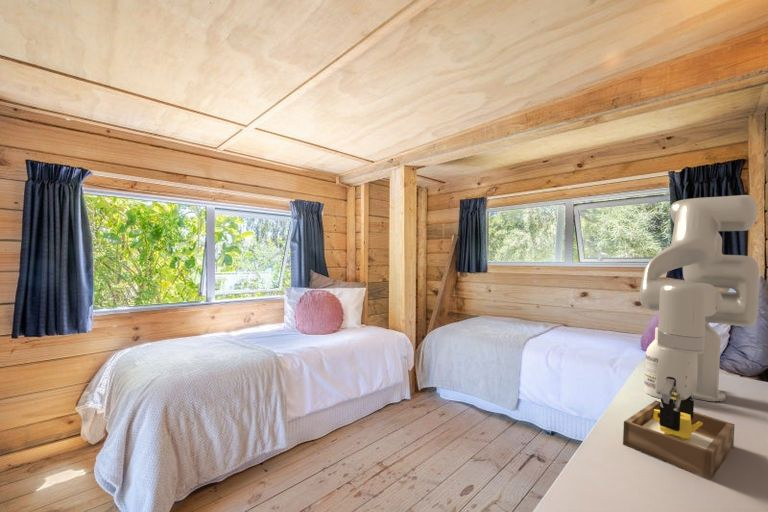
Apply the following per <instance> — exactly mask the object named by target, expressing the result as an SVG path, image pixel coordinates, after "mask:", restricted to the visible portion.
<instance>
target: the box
mask: <svg viewBox="0 0 768 512" xmlns="http://www.w3.org/2000/svg"><path fill="white" fill-rule="evenodd" d="M660 403H661V401H659V400H654V401H653V402H651V403H650V404H648V405H646V406H645V407H644V408H642V409H641V410H639V411H638V412H636V413H635V414H633V415H632V416H630V417H628V418H627V419H625V420H624V421H623V431H622V432H623V434H622V435H623V438H622V445H623V444H624V445H623V446H626V447H628V448H631V449H633V450H636V451H638V452H641V453H643V454H645V455H648V456H650V457H653V458H655V459H657V460H659V461H663V462H664V463H668V464H670V465H672V466H674V467H677V468H679V469H682V470H684V471H687V472H689V473H692V474H695V475H696V476H699V477H701V478H704V479H707V480H709V481H711V480H712V479H713V477H714V476H715V474H716V473H717V471H719V469H720V467H721V466H722V465H723V463H724V461H725V460H726V458H727V457H728V456H729V454H730V453H731V451H732V450H733V448H734V446H735V445H734V443H735V423H733V422H728V421H725V420H722V419H719V418H714V417H711V416H709V415H706V414H702V413H699V412H695V411H693V418H692V419H691V425H693V424H695V423H697V422H699V421H700V422H702V423H703V424H702V425H701V426H700V427H699V428H698V429H696V430H695V431H694V432H693V433H696V434H699V435H702V436H705V437H708V438H711V439H714V440H713V441H712V442H711V443H710V445H709V446H708V447H707V448H706V449H704V448H701V447H699V446H696V445H693V444H690V443H688V442H685V441H682V440H679V439H676V438H674V437H671V436H668V435H665V434H663V433H660V432H657V431H654V430H651V429H649V428H646V427H643V425H644V424H645V423H647V422H648V421H650V420H651V419H653V415H654V409H656V410H660ZM658 417H659V418H660V413H658Z"/></svg>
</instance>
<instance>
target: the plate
mask: <svg viewBox="0 0 768 512" xmlns="http://www.w3.org/2000/svg"><path fill="white" fill-rule="evenodd" d="M643 427H646V428H649V429H651V430H654V431H657V432H660V433H663V434H664V433H665V432H663V431H661V430H660V423H658V422H657V421H656V420H654V419H651V420H650V421H648V422H647V423H645V424H644V425H643ZM670 436H671V437H674V438H676V439H679V440H681V439H680V437H679V436H676V435H672V434H671V435H670ZM713 440H714V439H711V438H708V437H705V436H702V435H699V434H696V433H691V438H690V439H687V438H686V440H682V441H685V442H688V443H690V444H693V445H696V446H699V447H701V448H704V449H706V448H707V447H708V446H709V445H710V443H711V442H712V441H713Z"/></svg>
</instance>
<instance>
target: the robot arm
mask: <svg viewBox="0 0 768 512" xmlns="http://www.w3.org/2000/svg"><path fill="white" fill-rule="evenodd" d="M669 213H670V219H671V220H672V223H673V224H674V225H673V230H672V231H673V232H672V238H671V242H670V246H668V247H666V248H664V249H663V250H661V251H659V252H658V253H657V254H655V256H653V257H652V258H651V259H650V260H649V262H648V263H647V264H646V265H645V268H644V270H643V273H642V278H641V282H640V287H639V296H638V297H639V302H640V304H641V305H642V307H643V308H645V309H646V310H649V311H652V312H653V311H654V312H658V323H657V325H658V326H657V327H658V346H659V347H661V350H660V354H659V360H658V367H657V377H656V388H655V391H656V392H657V393H658V394H662V398H660V402H661V403H660V425H661V426H663V427H666V428H669V429H672V430H675V431H679V430H680V415H681V412H682V413H686V414H689V415H691V419H692V418H693V412H695V411H694V408H695V400H702V401H707V402H715V401H717V402H718V401H720V402H724V401H726V395H725V393H723V392H722V391H720V390H719V389H720V388H719V385H720V384H719V383H720V381H719V380H720V362H721V361H720V360H721V336H720V335H719V334H718V332H717V331H716V330H715V329H714V327H712V326H711V325H710V324H720V325H727V326H728V325H729V326H738V327H750V326H751V327H752V326H753V325H755V323H756V322H757V320H758V316H759V315H758V314H759V300H760V299H759V298H760V297H759V295H760V293H759V292H760V267H759V264H758V262H757V260H756V259H755V258H754V257H752V256H748V255H740V254H736V255H735V254H723V237H722V236H721V234H720V232H735V231H736V232H745V231H749V230H751V229H752V228H753V227H754V226H755V224H756V220H757V217H758V205H757V201H756V199H755V198H754V197H753V196H752V195H749V194H741V195H740V194H739V195H727V196H726V195H724V196H709V197H707V196H706V197H694V198H684V199H680V200H677V201H674V202H673V203H672V204H671V205H670V208H669ZM679 268H682V275H683V276H682V277H683V279H684V281H683V280H669V279H667V280H666V279H659V278H661V276H663V275H665V274H667V273H668V272H670V271H673V270H675V269H679ZM718 288H720V289H721V288H725V289H732V290H734V292H732V291H721V290H719V289H718ZM672 393H673V394H672ZM694 399H695V400H694ZM717 402H716V403H717Z"/></svg>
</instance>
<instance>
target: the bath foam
mask: <svg viewBox="0 0 768 512" xmlns="http://www.w3.org/2000/svg"><path fill="white" fill-rule="evenodd" d="M660 350H661V347H659V346H658V326H657V327H655V329H654V340H653V341H652V342H651V343H650V344H649V345H648V347H647V348H646V351H645V363H644V381H643V383H644V385H643V386H644V389H643V391H644V392H645V393H646V394H647V395H649V396H651V397H653V398H656V399H661V398H662V394H658V393H657V392H656V391H655V388H656V377H657V367H658V360H659V354H660ZM672 394H673V393H672Z"/></svg>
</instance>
